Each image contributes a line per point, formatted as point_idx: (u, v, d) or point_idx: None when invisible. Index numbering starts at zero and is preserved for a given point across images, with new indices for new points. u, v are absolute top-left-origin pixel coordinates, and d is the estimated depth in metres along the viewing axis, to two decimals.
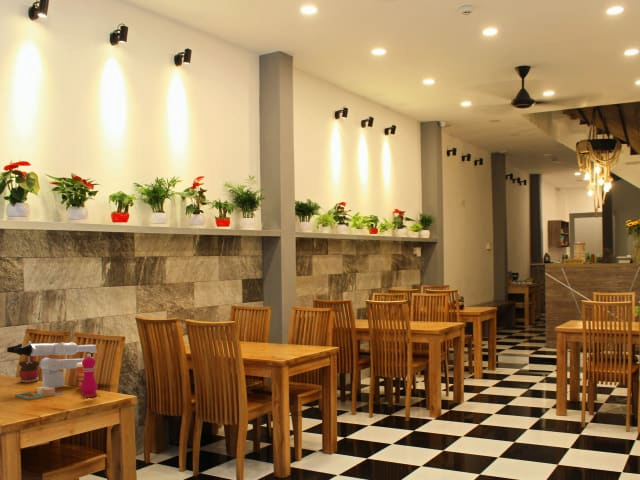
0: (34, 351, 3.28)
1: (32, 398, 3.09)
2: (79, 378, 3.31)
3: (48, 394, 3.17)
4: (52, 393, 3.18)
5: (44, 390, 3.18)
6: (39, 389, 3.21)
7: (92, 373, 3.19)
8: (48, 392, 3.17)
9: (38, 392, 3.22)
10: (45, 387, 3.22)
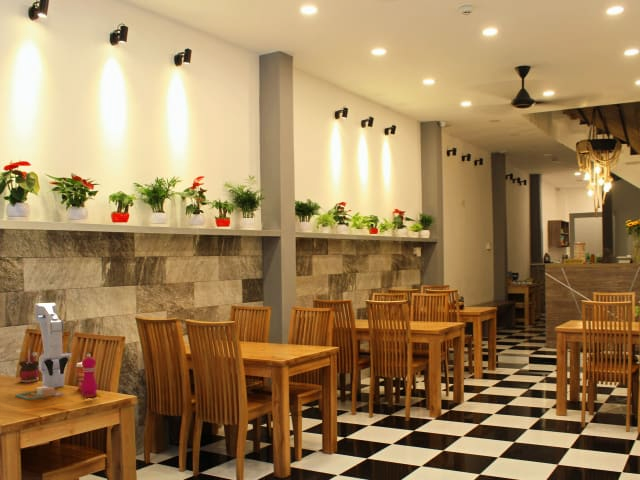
0: None
1: (32, 398, 3.09)
2: (79, 378, 3.31)
3: (48, 394, 3.17)
4: (52, 393, 3.18)
5: (44, 390, 3.18)
6: (39, 389, 3.21)
7: (92, 373, 3.19)
8: (48, 392, 3.17)
9: (38, 392, 3.22)
10: (45, 387, 3.22)
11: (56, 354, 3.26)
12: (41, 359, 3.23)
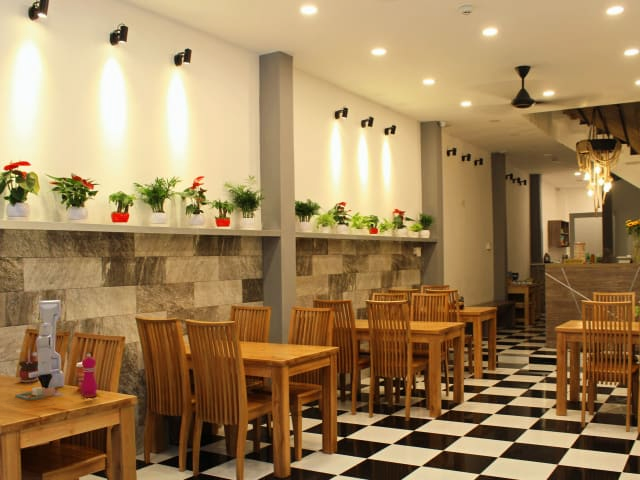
0: None
1: (32, 398, 3.09)
2: (79, 378, 3.31)
3: (48, 394, 3.17)
4: (52, 393, 3.18)
5: (44, 390, 3.18)
6: (35, 390, 3.20)
7: (92, 373, 3.19)
8: (48, 392, 3.17)
9: (34, 393, 3.20)
10: (41, 388, 3.21)
11: (45, 370, 3.22)
12: (29, 375, 3.19)
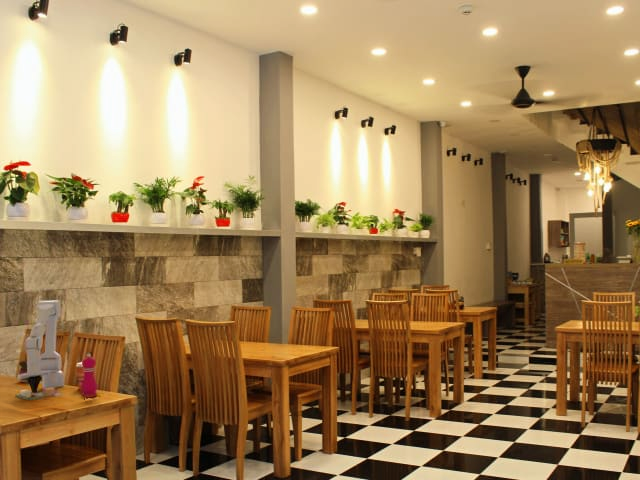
0: None
1: (32, 398, 3.09)
2: (79, 378, 3.31)
3: (48, 394, 3.17)
4: (52, 393, 3.18)
5: (44, 390, 3.18)
6: None
7: (92, 373, 3.19)
8: (48, 392, 3.17)
9: None
10: (24, 395, 3.15)
11: (34, 372, 3.18)
12: (18, 377, 3.15)
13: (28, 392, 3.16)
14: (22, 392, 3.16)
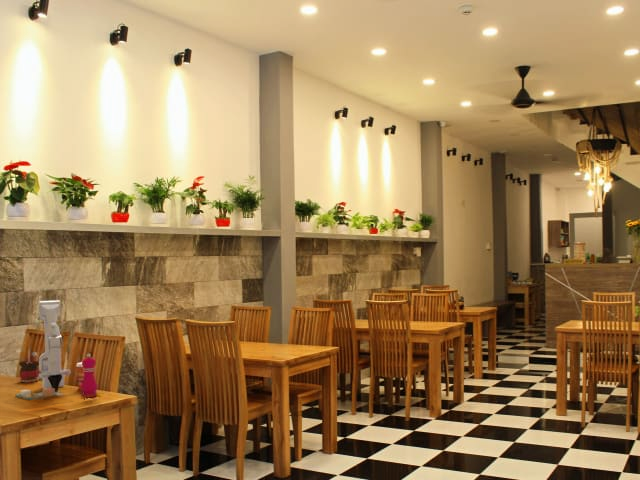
0: None
1: (32, 398, 3.09)
2: (79, 378, 3.31)
3: (48, 394, 3.17)
4: (52, 393, 3.18)
5: (44, 390, 3.18)
6: None
7: (92, 373, 3.19)
8: (48, 392, 3.17)
9: None
10: (24, 395, 3.15)
11: (55, 371, 3.19)
12: (39, 376, 3.16)
13: (28, 392, 3.16)
14: (22, 392, 3.16)
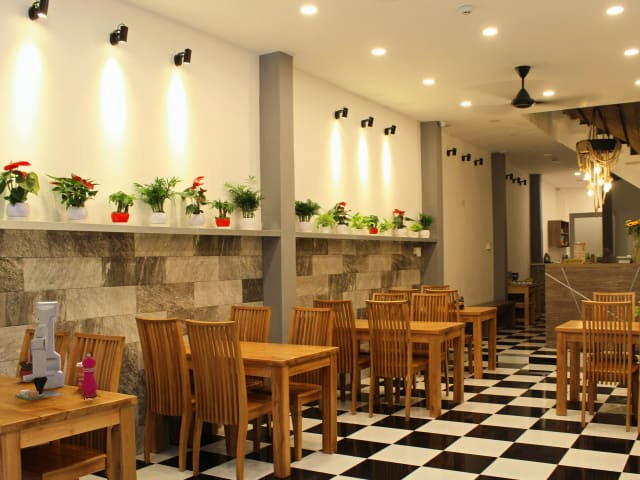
0: None
1: (32, 398, 3.09)
2: (79, 378, 3.31)
3: None
4: (36, 394, 3.13)
5: None
6: None
7: (92, 373, 3.19)
8: None
9: None
10: (24, 395, 3.15)
11: (39, 373, 3.14)
12: (24, 378, 3.11)
13: None
14: (22, 392, 3.16)
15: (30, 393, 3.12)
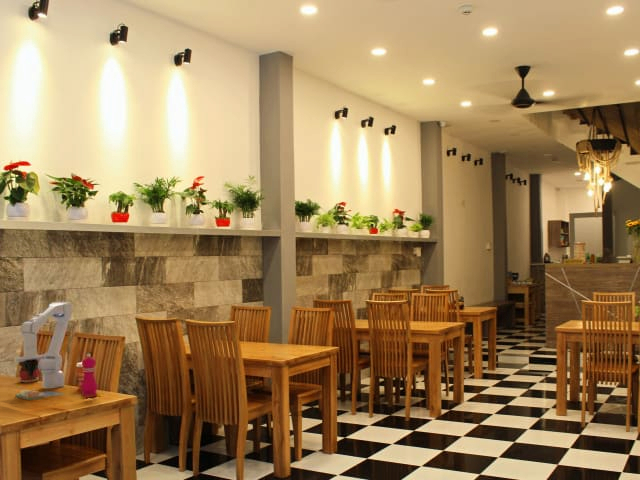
0: None
1: (32, 398, 3.09)
2: (79, 378, 3.31)
3: None
4: (36, 394, 3.13)
5: None
6: None
7: (92, 373, 3.19)
8: None
9: None
10: (24, 395, 3.15)
11: (30, 355, 3.24)
12: (15, 360, 3.21)
13: None
14: (22, 392, 3.16)
15: (30, 393, 3.12)
